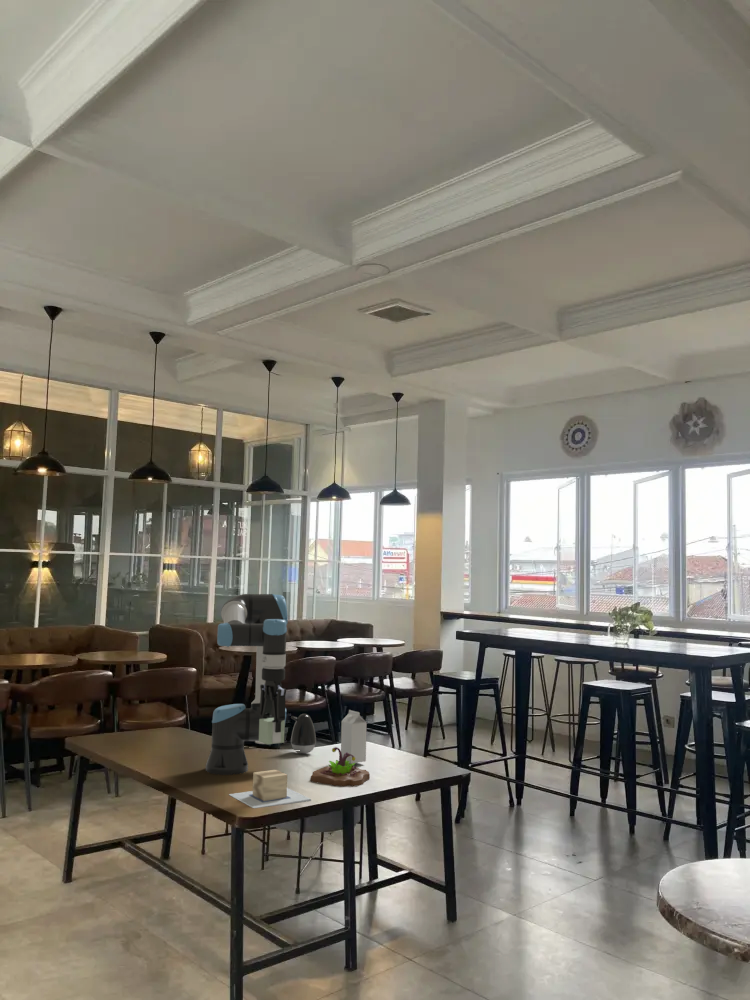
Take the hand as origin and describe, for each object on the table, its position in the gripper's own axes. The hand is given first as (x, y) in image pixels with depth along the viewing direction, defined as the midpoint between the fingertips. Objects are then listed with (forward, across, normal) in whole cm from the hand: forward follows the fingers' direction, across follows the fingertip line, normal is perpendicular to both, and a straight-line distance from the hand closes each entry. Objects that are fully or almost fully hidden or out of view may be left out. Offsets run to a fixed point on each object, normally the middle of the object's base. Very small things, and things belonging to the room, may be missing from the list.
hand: (271, 740), depth 259 cm
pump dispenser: (+19, -57, +44) cm, 74 cm away
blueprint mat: (+18, 0, 0) cm, 18 cm away
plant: (+19, -12, +34) cm, 41 cm away
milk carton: (+19, -33, +53) cm, 65 cm away
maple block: (+17, 0, 0) cm, 17 cm away
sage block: (0, 0, 0) cm, 0 cm away
